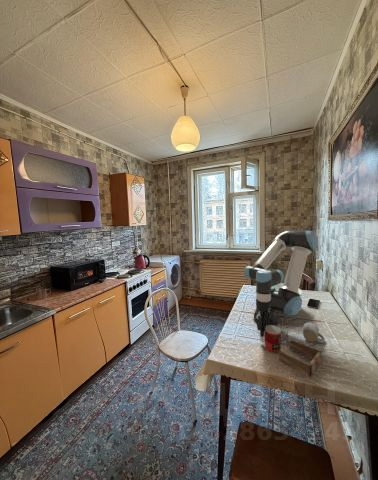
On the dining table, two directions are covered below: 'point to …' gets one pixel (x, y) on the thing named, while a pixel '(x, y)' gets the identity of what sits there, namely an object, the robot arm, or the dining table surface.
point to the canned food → (272, 338)
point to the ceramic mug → (312, 333)
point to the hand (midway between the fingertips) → (263, 340)
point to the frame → (300, 364)
